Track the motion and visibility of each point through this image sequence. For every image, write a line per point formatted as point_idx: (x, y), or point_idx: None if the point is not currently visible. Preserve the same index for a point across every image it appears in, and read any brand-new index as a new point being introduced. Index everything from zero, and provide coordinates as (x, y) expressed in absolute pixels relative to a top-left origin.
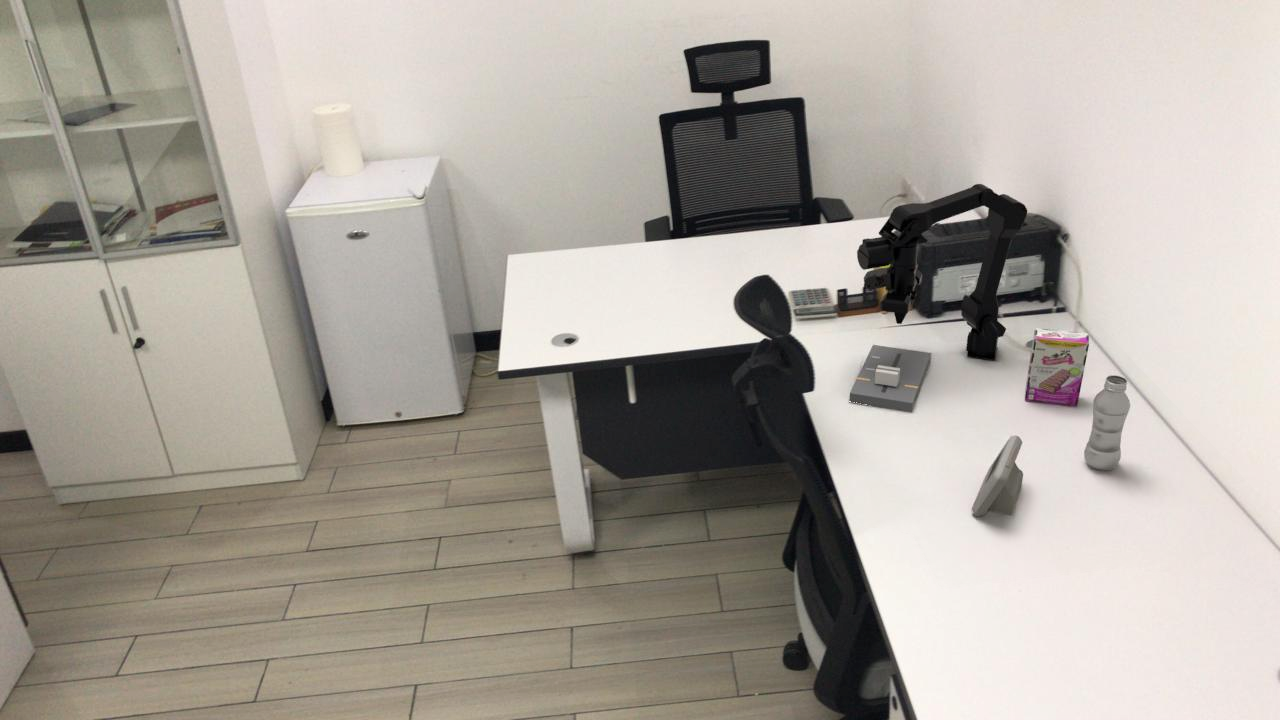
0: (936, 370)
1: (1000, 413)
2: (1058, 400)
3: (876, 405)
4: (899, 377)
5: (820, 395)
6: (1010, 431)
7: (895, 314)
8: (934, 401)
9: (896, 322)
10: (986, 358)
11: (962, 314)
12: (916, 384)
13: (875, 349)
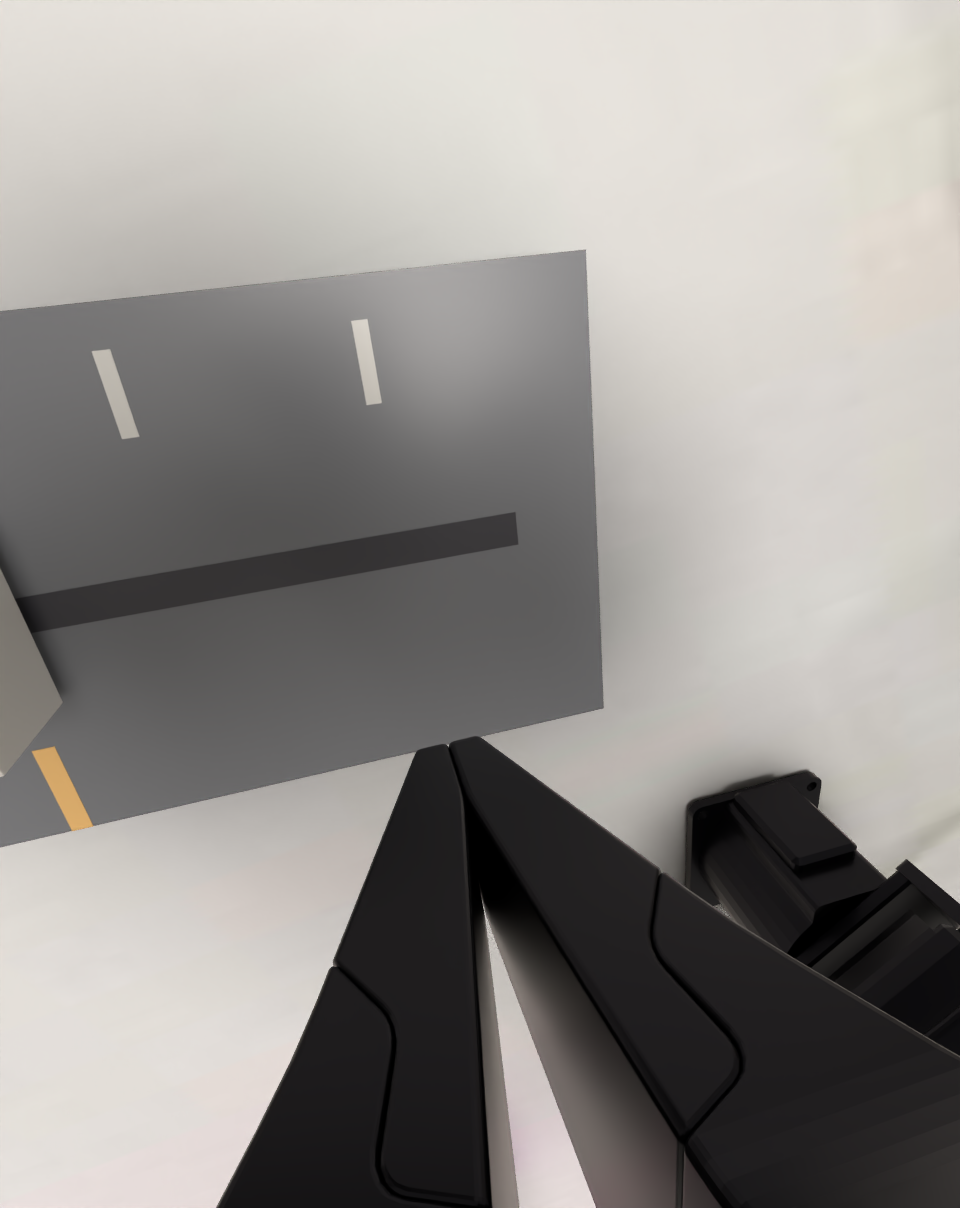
0: (492, 737)
1: (222, 1096)
2: None
3: None
4: (47, 718)
5: None
6: (92, 1176)
7: (352, 929)
8: (129, 865)
9: (419, 752)
10: (688, 882)
11: (947, 956)
12: (120, 802)
13: (506, 306)
